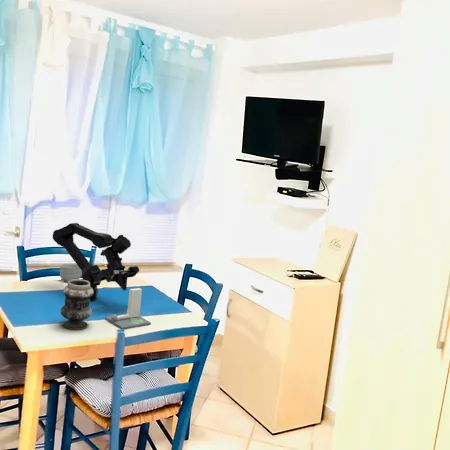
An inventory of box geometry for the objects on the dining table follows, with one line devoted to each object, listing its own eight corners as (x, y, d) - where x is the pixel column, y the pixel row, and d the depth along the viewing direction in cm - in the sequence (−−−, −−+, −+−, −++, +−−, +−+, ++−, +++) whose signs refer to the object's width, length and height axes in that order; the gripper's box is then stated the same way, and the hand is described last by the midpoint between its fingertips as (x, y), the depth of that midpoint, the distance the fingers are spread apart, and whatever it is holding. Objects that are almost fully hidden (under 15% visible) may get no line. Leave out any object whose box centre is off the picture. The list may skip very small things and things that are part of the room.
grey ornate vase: (90, 331, 212) (94, 287, 209) (58, 330, 210) (61, 285, 207) (91, 320, 224) (94, 278, 221) (60, 319, 221) (64, 276, 218)
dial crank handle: (109, 319, 224) (112, 291, 222) (136, 315, 233) (139, 287, 231) (112, 321, 223) (115, 292, 221) (139, 316, 232) (142, 289, 230)
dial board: (105, 319, 227) (105, 316, 227) (132, 314, 237) (133, 312, 237) (122, 329, 218) (122, 327, 218) (150, 324, 228) (150, 322, 228)
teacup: (61, 283, 268) (62, 268, 267) (56, 277, 277) (58, 262, 276) (89, 283, 274) (90, 268, 273) (84, 277, 284) (85, 262, 283)
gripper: (122, 266, 253) (134, 296, 247) (87, 270, 239) (98, 301, 234) (134, 254, 246) (146, 284, 240) (98, 257, 233) (109, 289, 227)
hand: (125, 290), depth 235 cm, fingers closed
